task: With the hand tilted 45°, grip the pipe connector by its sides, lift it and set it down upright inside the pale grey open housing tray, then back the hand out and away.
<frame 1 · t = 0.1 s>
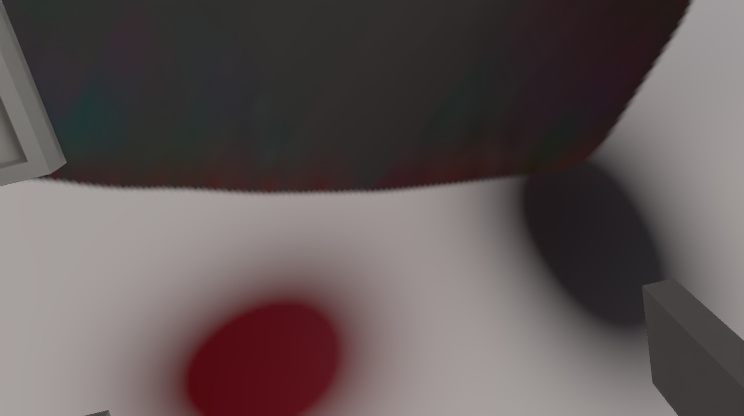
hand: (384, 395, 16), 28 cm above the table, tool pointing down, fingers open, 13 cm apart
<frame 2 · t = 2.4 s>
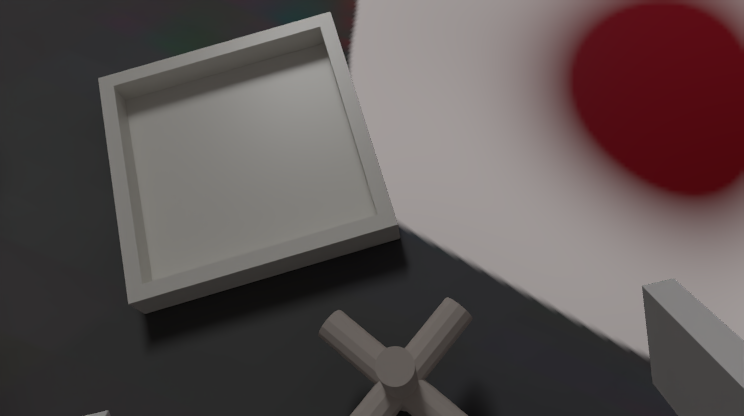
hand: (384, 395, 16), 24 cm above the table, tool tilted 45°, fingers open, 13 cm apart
pipe connector: (405, 395, 40), on the table
housing tray: (247, 163, 47), on the table
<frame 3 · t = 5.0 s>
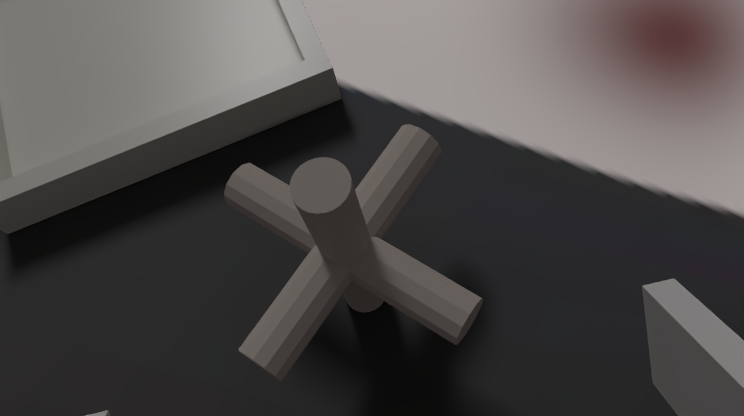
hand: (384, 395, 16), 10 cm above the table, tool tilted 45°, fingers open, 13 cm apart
pipe connector: (365, 292, 29), on the table
housing tray: (137, 38, 36), on the table
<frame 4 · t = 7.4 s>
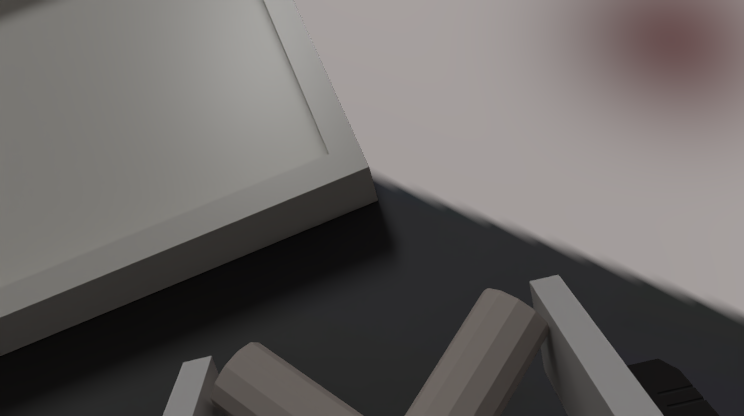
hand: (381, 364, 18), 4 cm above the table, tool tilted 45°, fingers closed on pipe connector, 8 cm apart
housing tray: (103, 107, 27), on the table
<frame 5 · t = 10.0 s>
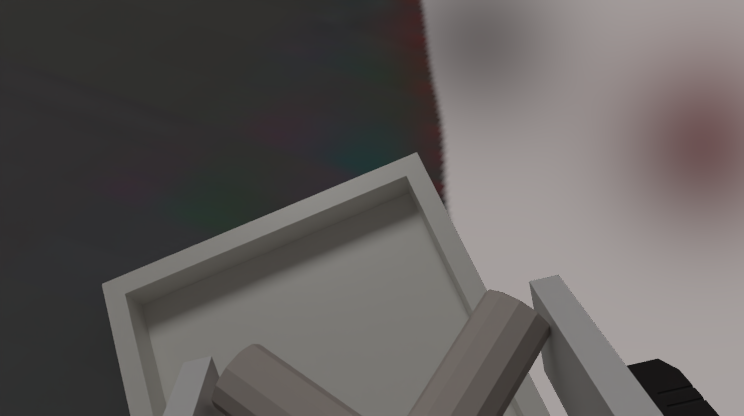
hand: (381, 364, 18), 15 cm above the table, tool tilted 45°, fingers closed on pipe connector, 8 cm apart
housing tray: (327, 385, 32), on the table
when the fingers open (5 cm above the table, at t = 12.7 s): pipe connector stays where it is, resting on housing tray.
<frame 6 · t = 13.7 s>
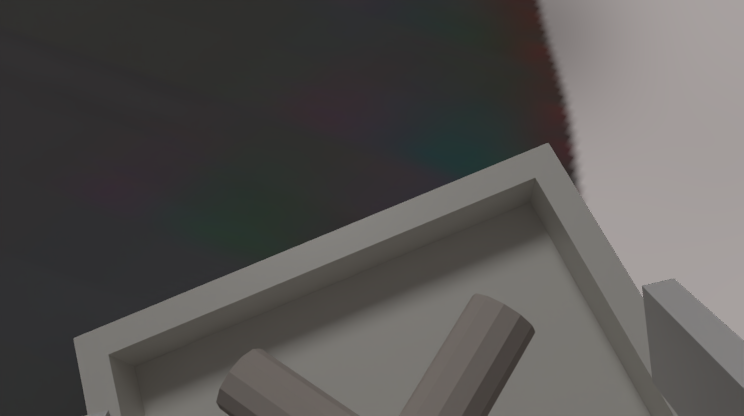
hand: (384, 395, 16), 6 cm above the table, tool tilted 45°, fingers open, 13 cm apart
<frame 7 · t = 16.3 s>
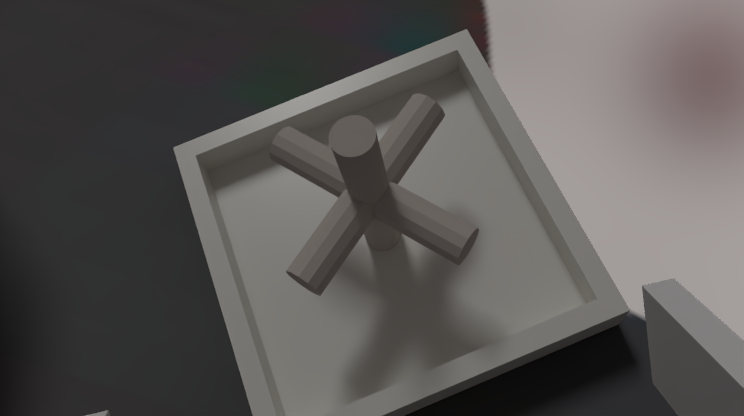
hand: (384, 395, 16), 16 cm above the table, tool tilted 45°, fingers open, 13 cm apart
pipe connector: (383, 235, 35), resting on housing tray
housing tray: (384, 239, 35), on the table
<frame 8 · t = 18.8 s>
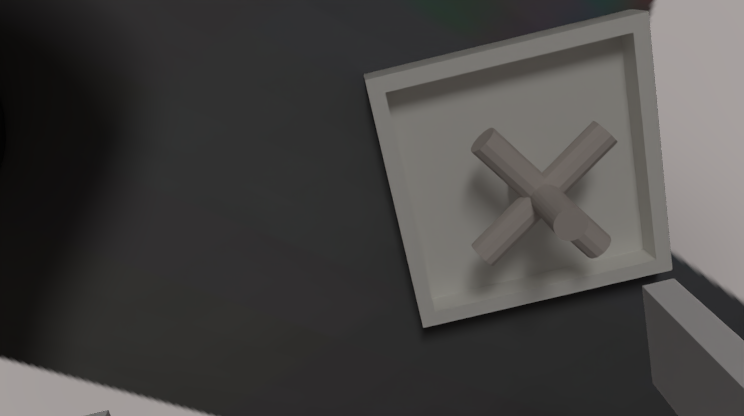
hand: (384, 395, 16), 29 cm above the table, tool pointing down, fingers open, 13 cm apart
pipe connector: (519, 170, 44), resting on housing tray
housing tray: (517, 169, 45), on the table
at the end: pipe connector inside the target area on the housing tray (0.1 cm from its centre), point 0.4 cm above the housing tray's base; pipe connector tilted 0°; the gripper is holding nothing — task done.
